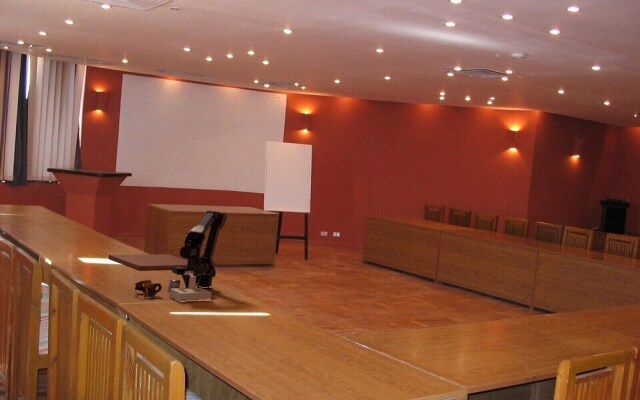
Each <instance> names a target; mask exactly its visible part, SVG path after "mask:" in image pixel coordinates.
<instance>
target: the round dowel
mask: <svg viewBox="0 0 640 400" xmlns="http://www.w3.org/2000/svg"><path fill="white" fill-rule="evenodd" d="M180 286H181V279H178V278H171V279H169V282H168V291H169V292H170V289H174V288H181V287H180ZM169 292H168V293H169Z"/></svg>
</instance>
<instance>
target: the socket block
mask: <svg viewBox="0 0 640 400" xmlns="http://www.w3.org/2000/svg"><path fill="white" fill-rule="evenodd" d="M212 293H213V292H212V291H208V290H207V289H202V288H199V287H197V288H196V287H195V288H186V287H184V288H183V287H180V288H174V289H170V293H169V295H168V297H169V296H170V297H173V298H175V299H177V300H179V301H186V300H199V299H207V298H211V299H212ZM170 297H169V298H170Z"/></svg>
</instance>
